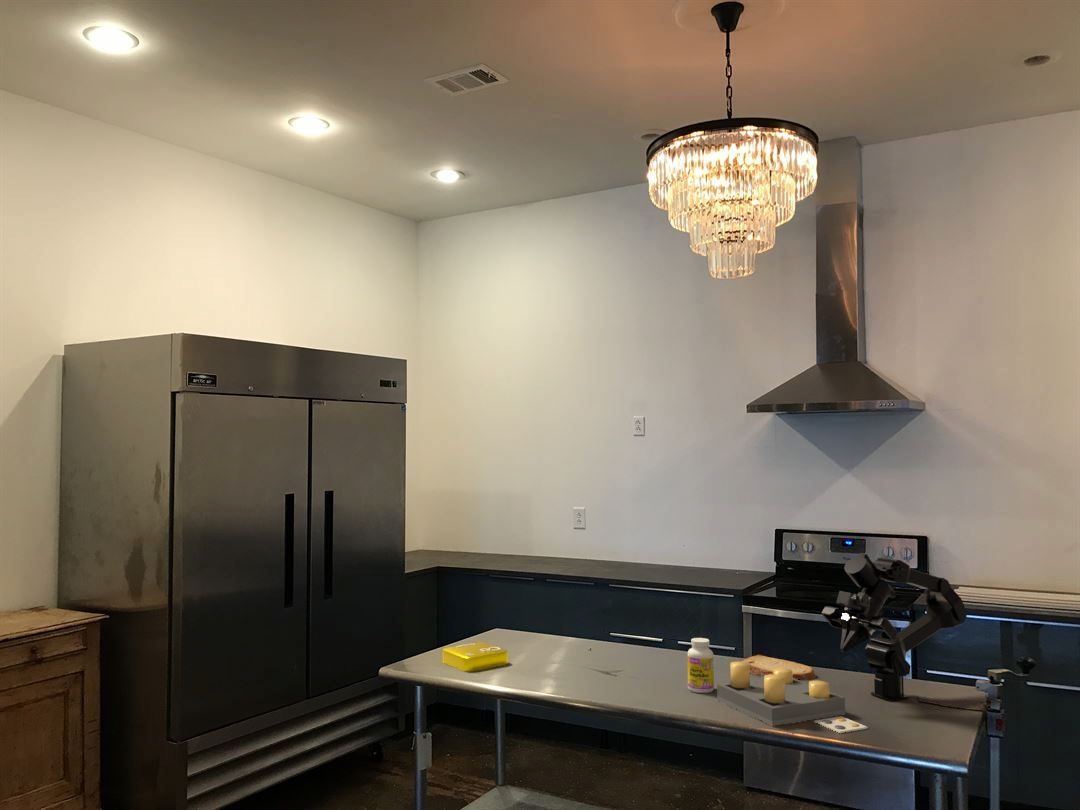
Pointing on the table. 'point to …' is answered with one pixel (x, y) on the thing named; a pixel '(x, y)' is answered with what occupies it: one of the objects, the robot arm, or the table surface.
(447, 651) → the element tile
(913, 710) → the table surface
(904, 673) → the robot arm
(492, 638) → the table surface
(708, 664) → the supplement bottle
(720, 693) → the grey flat square block
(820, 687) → the button
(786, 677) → the button
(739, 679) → the button
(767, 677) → the button
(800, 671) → the slice of bread
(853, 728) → the card
